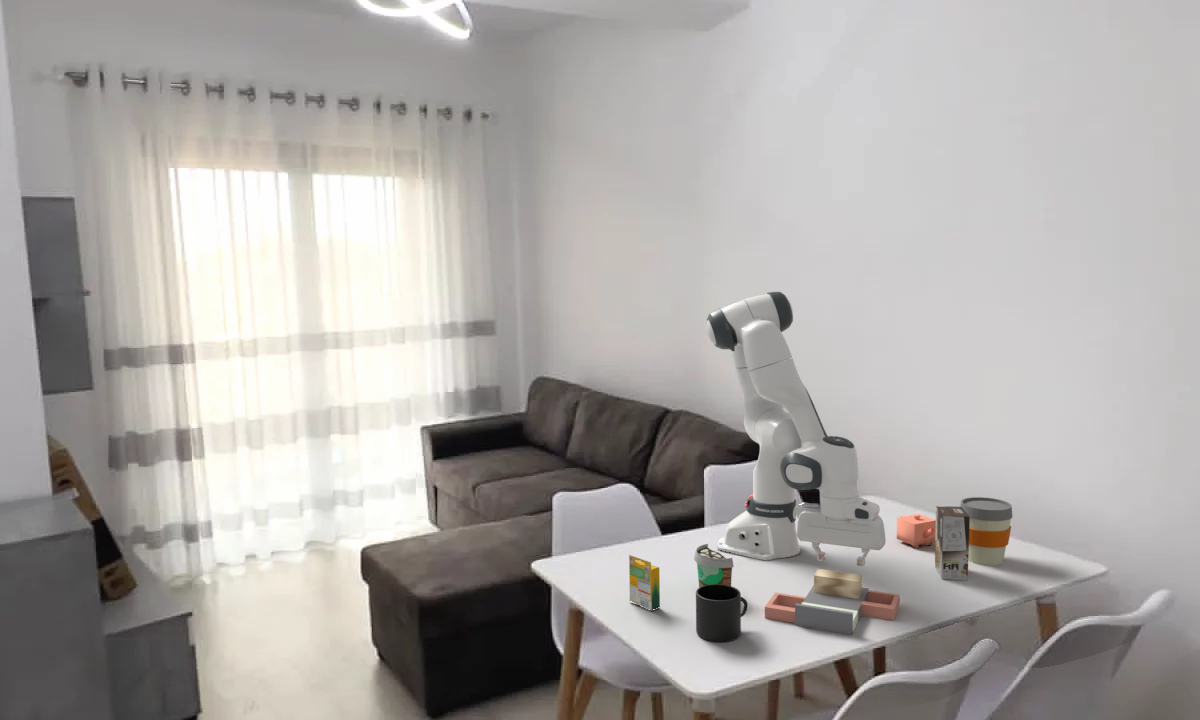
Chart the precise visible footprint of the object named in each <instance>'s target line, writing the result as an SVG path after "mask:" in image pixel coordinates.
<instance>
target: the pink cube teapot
mask: <svg viewBox="0 0 1200 720" xmlns="http://www.w3.org/2000/svg"><path fill="white" fill-rule="evenodd" d="M935 534H936V519H933V518H932V517H928V516H926V515H923V514H920V513H918V514H917V513H915V514H912V515H902V516H900V517H897V518H896V539H897V540H899V541H901V542H903V543H902V544H908V545H911V546H912V547H913V548H914V547H919V548H920V545H921V546H922V545H924V546H926V545H930V546H931V543H935Z"/></svg>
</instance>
